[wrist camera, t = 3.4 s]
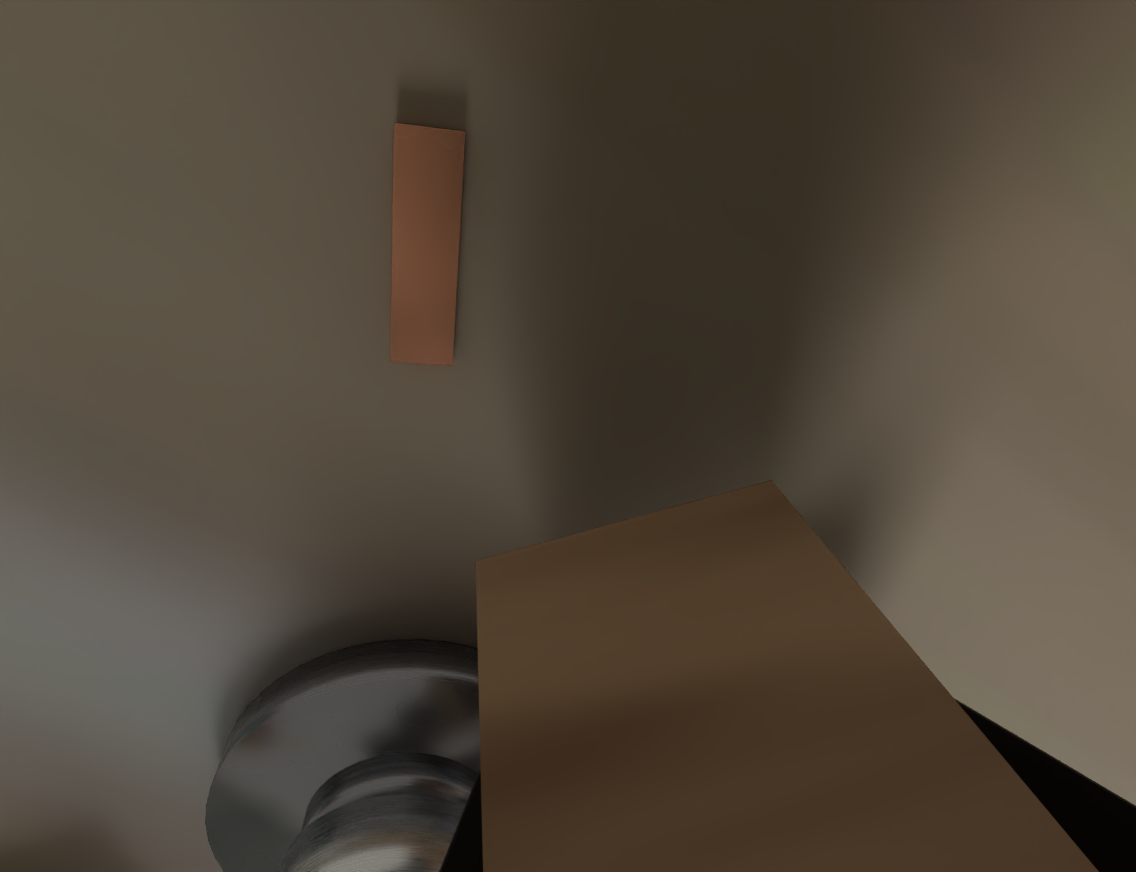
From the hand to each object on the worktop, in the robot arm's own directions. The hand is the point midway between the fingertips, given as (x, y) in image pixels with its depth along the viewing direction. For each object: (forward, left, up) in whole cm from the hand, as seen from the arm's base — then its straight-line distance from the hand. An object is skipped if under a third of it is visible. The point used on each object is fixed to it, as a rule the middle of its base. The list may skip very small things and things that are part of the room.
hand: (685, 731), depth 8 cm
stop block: (0, 0, -2) cm, 2 cm away
